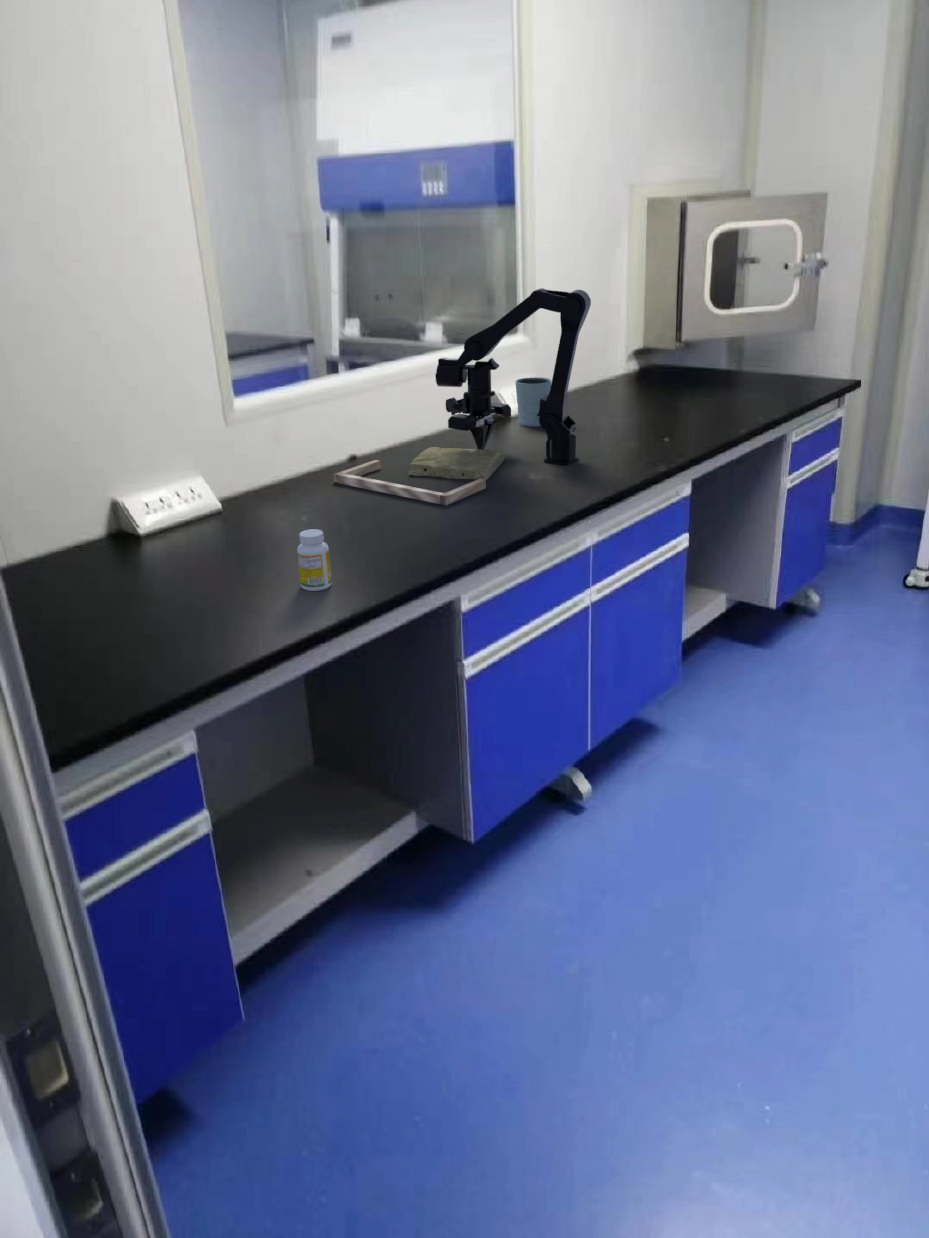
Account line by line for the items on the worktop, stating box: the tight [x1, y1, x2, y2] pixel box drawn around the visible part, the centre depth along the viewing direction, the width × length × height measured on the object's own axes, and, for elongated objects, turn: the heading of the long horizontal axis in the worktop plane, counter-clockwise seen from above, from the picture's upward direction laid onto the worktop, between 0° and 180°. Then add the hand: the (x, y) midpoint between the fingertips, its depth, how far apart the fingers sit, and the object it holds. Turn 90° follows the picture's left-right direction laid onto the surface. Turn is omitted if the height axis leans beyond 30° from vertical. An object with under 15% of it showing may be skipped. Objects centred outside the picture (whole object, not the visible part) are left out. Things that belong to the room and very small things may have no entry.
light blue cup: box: [515, 377, 552, 428], centre depth 263 cm, size 10×10×12 cm
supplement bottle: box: [296, 528, 332, 592], centre depth 160 cm, size 5×5×10 cm
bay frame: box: [333, 459, 487, 506], centre depth 214 cm, size 33×14×2 cm, turn 53°
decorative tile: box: [408, 446, 505, 481], centre depth 226 cm, size 19×20×4 cm
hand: (480, 450), depth 233 cm, fingers closed
